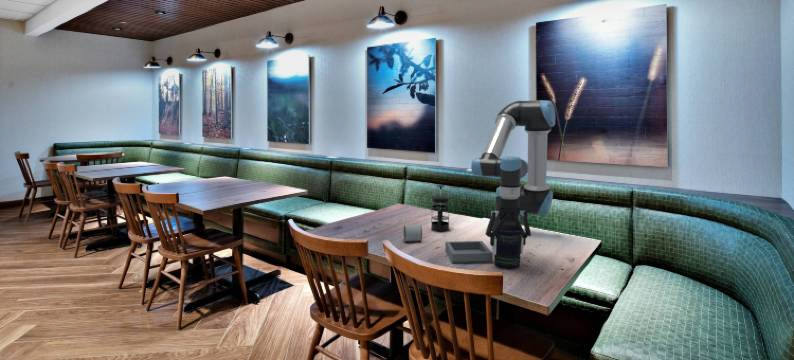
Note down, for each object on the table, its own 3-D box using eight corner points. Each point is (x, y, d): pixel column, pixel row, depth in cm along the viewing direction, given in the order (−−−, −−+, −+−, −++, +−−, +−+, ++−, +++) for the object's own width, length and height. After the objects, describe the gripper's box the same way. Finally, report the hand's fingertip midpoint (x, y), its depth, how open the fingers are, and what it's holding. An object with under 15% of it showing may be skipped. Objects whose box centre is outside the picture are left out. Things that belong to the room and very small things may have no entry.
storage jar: (491, 260, 167) (492, 224, 165) (515, 260, 167) (516, 224, 165) (498, 270, 157) (499, 231, 155) (523, 269, 158) (525, 231, 155)
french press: (431, 226, 219) (432, 183, 216) (449, 227, 218) (450, 183, 214) (429, 232, 208) (430, 187, 204) (448, 233, 206) (449, 187, 203)
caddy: (481, 249, 181) (482, 240, 180) (492, 262, 165) (492, 252, 164) (445, 250, 180) (445, 241, 179) (452, 263, 164) (452, 253, 164)
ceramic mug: (423, 242, 191) (423, 226, 190) (405, 243, 190) (405, 227, 189) (418, 236, 201) (418, 221, 200) (402, 237, 200) (402, 221, 199)
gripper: (483, 199, 154) (481, 257, 157) (542, 198, 155) (539, 256, 159) (478, 195, 161) (476, 251, 165) (534, 195, 162) (532, 249, 166)
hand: (507, 253), depth 162 cm, fingers closed on storage jar, 10 cm apart
